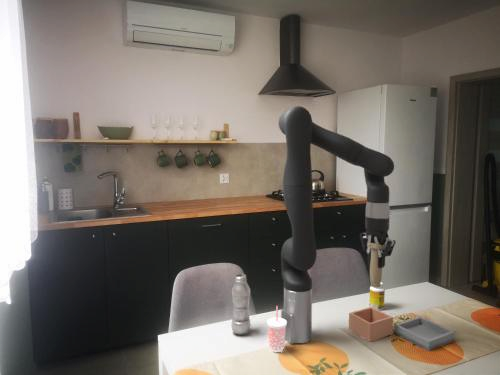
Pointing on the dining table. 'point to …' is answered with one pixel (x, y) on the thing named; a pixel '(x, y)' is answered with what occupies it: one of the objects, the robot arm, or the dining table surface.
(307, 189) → the robot arm
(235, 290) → the plastic bottle
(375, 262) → the handle
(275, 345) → the beverage cup
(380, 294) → the supplement bottle
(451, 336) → the tray
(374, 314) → the terracotta storage bin
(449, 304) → the dining table surface
